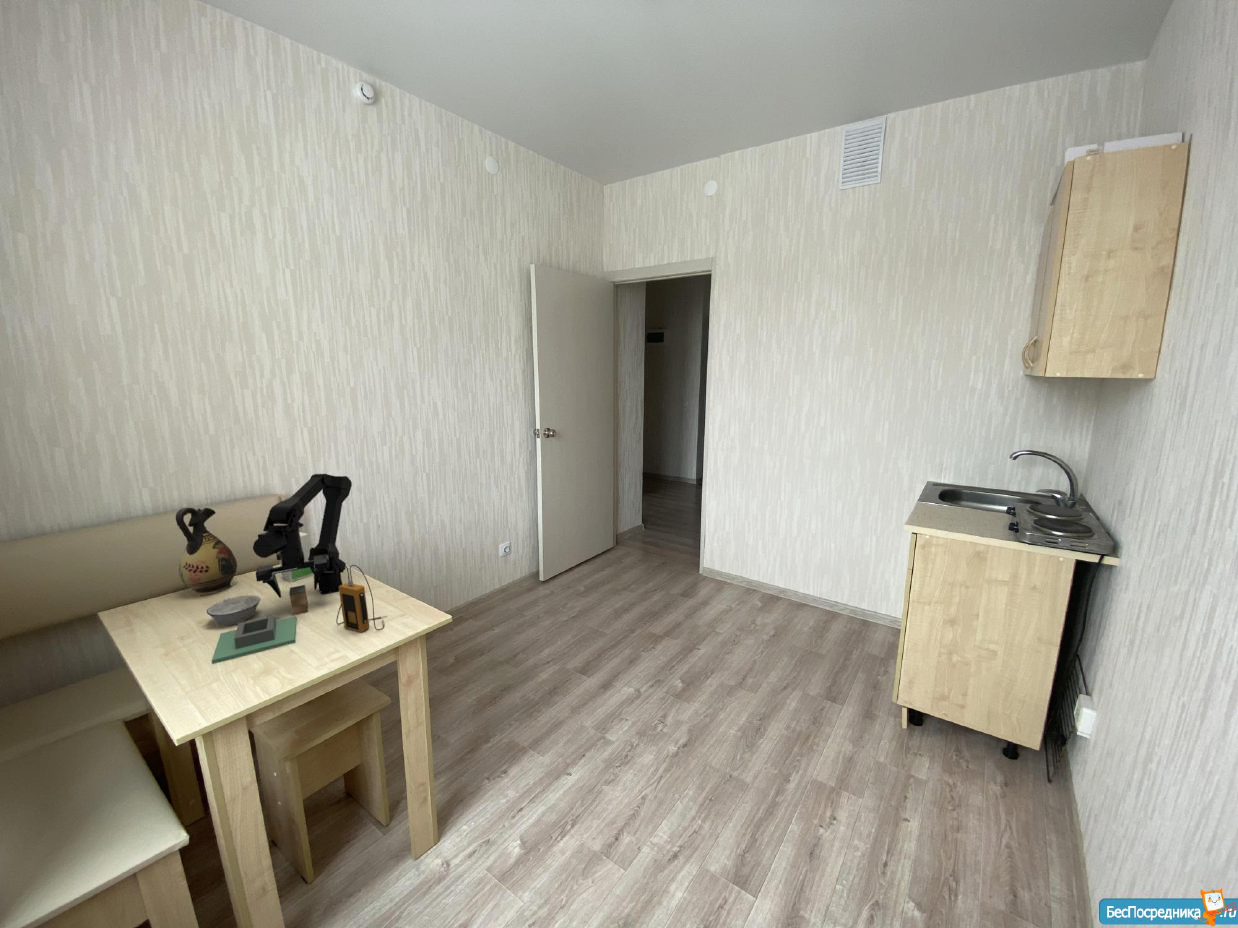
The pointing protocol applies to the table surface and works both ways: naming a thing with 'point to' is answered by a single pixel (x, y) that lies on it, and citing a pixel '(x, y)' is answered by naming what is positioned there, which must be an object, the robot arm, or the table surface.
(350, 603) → the multimeter
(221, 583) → the ceramic jug
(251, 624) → the board
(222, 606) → the bowl
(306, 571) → the skincare box
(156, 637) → the table surface
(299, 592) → the plug
